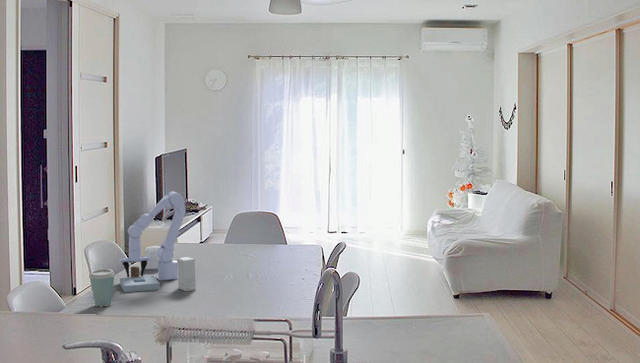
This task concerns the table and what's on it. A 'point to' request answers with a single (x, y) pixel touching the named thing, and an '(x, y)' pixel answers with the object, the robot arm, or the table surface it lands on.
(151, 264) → the photo printer
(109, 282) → the disposable coffee cup
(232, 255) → the table surface
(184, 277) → the skincare box
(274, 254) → the table surface
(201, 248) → the table surface
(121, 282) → the socket block
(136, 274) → the walnut peg
